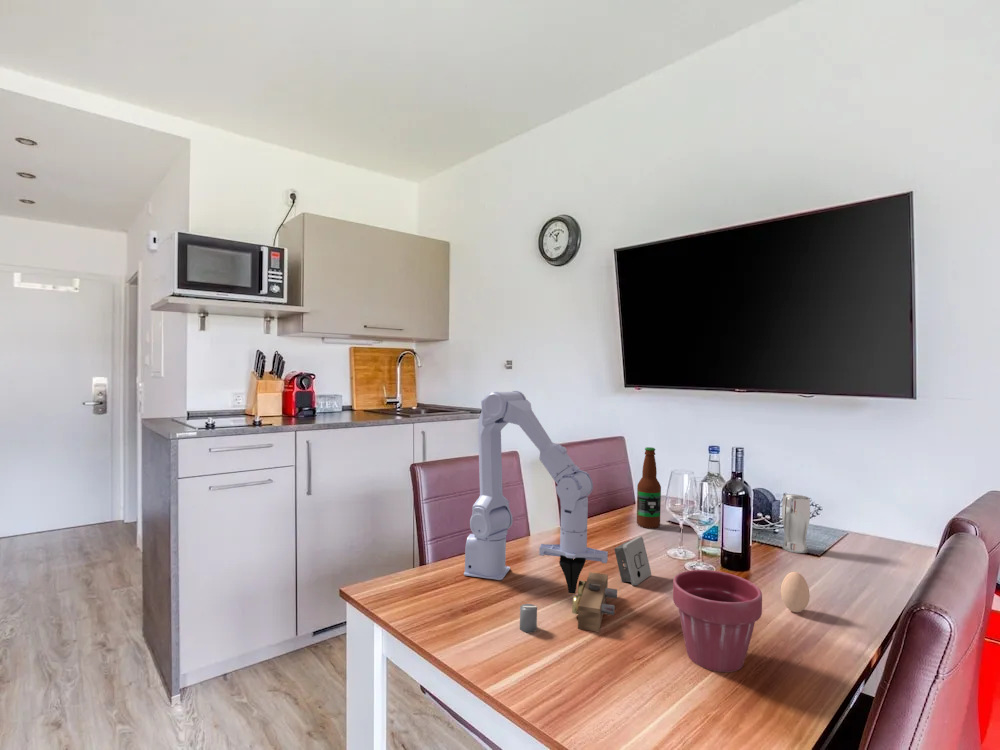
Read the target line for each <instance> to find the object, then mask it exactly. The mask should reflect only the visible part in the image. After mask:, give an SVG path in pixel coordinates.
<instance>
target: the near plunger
mask: <svg viewBox="0 0 1000 750" xmlns="http://www.w3.org/2000/svg"><path fill="white" fill-rule="evenodd" d="M581 597H582V596H578V595H575V594H573V596H572V605H571V606H572V607H571V610H572V612H571V613H572V614H575V615H578V606H579V603H580V600H581ZM615 607H616V606H615V604H608V603H605V604H602V605H601V613H603V615H610V616H611V615H612V616H614V615H615V609H616V608H615Z"/></svg>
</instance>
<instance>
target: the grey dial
mask: <svg viewBox="0 0 1000 750" xmlns="http://www.w3.org/2000/svg"><path fill="white" fill-rule="evenodd" d="M519 610H520V611H519V630H520V631H521V632H523V633H529V634H531V633H535V632H537V626H538V624H537V623H538V607H537V605H535V604H531V603H525V604H524V603H523V604H522V605H520V607H519Z"/></svg>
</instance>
